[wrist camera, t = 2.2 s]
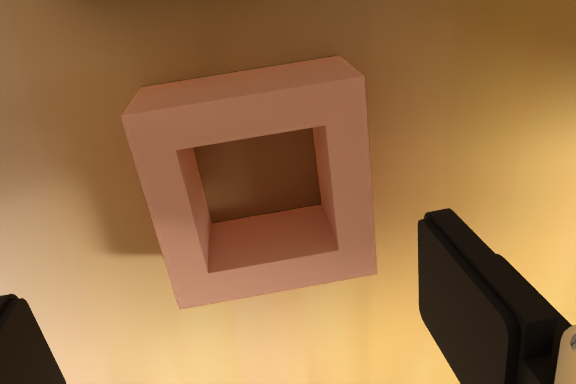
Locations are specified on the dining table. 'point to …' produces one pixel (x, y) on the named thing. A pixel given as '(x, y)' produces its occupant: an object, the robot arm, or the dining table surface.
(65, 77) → the dining table surface
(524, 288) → the robot arm
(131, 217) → the dining table surface
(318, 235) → the square ring block
